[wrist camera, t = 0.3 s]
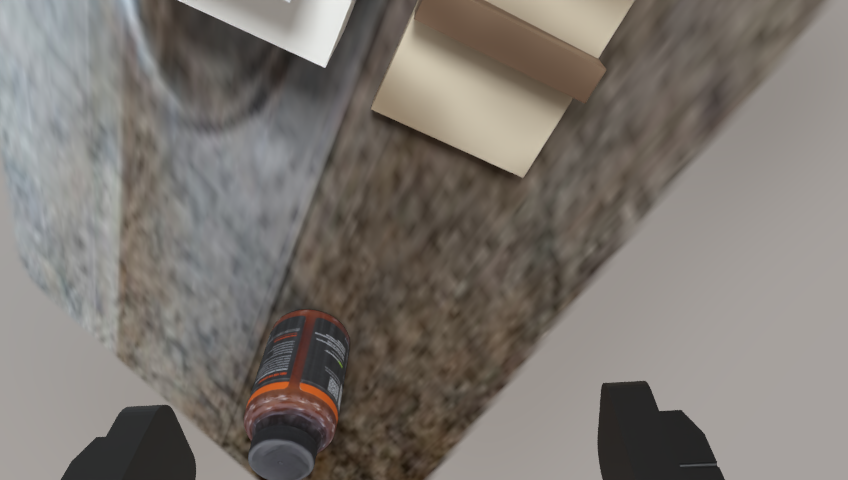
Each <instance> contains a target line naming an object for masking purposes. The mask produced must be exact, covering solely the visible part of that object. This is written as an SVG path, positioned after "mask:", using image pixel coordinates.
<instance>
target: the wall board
mask: <svg viewBox="0 0 848 480" xmlns="http://www.w3.org/2000/svg"><path fill="white" fill-rule="evenodd" d="M634 1H635V0H418V1H417V3H416V5H415V7H414V10H413V12H412V14H411V16H410V19H409V21H408V23H407V25H406V28H405V30H404V32H403V34H402V37H401V39H400V41H399V43H398V45H397V48H396V50H395V52H394V54H393V57H392V59H391V61H390V63H389V66H388V68H387V70H386V72H385V75H384V77H383V79H382V81H381V84H380V86H379V88H378V90H377V93H376V95H375V97H374V99H373V103H372V106H371V110H374V111H376V112H378V113H380V114H383V115H385V116H387V117H389V118H391V119H394V120H396V121H398V122H400V123H402V124H405V125H407V126H409V127H411V128H414V129H416V130H418V131H420V132H422V133H425V134H427V135H429V136H431V137H433V138H436V139H438V140H440V141H442V142H445V143H447V144H449V145H451V146H453V147H456V148H458V149H460V150H462V151H464V152H467V153H469V154H471V155H473V156H476V157H478V158H480V159H482V160H484V161H487V162H489V163H491V164H493V165H495V166H498V167H500V168H502V169H504V170H506V171H509V172H511V173H513V174H515V175H518V176H520V177H522V178H524V176H525V174H526V173H527V171H528V170H529V168H530V166H531V165H532V163H533V162H534V160H535V158H536V157H537V155H538V154H539V152H540V151H541V149H542V147H543V146H544V144H545V143H546V141H547V139H548V138H549V136H550V135H551V133H552V131H553V130H554V128H555V127H556V125H557V123H558V122H559V120H560V119H561V117H562V115H563V114H564V112H565V111H566V109H567V107H568V106H569V104H570V103H571V101H572V99H573V98H575V99H577V100H579V101H581V102H583V103H586V101H587V100H588V98H589V97H590V95H591V93H592V92H593V90H594V89H595V87H596V86H597V84H598V82H599V81H600V79H601V78H602V76H603V75H604V73H605V72H606V68H605V67H604V66H603V64H602V63H601V62H600V61H599V59H598V58H599V56H600V55H601V53H602V52H603V50H604V48H605V47H606V45H607V44H608V42H609V41H610V39H611V37H612V36H613V34H614V33H615V31H616V29H617V28H618V26H619V25H620V23H621V21H622V20H623V18H624V17H625V15H626V13H627V12H628V10H629V9H630V7H631V5H632V4H633V2H634Z"/></svg>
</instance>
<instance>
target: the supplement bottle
mask: <svg viewBox="0 0 848 480" xmlns="http://www.w3.org/2000/svg"><path fill="white" fill-rule="evenodd" d="M349 345H350V341H349V336H348V333H347V331H346V329H345V327H344V326H343V325H342V324H341V323H340V322H339V321H338V320H337V319H336V318H334V317H333V316H331V315H329V314H327V313H324V312H321V311H316V310H308V309H305V310H297V311H293V312H291V313H288V314H286V315H284V316H283V317H281V318H280V319H279V320H278V321H277V322H276V324H275V325H274V327H273V329H272V332H271V333H270V336H269V339H268V342H267V345H266V349H265V352H264V355H263V358H262V361H261V364H260V367H259V370H258V373H257V376H256V379H255V382H254V385H253V389H252V392H251V395H250V398H249V401H248V404H247V407H246V411H245V415H244V427H245V431H246V433H247V435H248V437H249V438H250V440H251V447H250V450H249V455H248V461H249V464H250V466H251V468H252V469H253V470H254V471H255V472H256V473H257V474H258V475H260V476H261V477H263V478H265V479H268V480H301V479H303V478H305V477H306V476H308V475H309V474H310V473H311V471H312V470H313V468H314V464H315V458H316V455H317V453H319V452H321V451H322V450H323V449H325V448H326V447H327V446H328V445H329V443H330V442H331V441H332V439H333V437H334V434H335V431H336V427H337V421H338V416H339V409H340V403H341V397H342V392H343V385H344V379H345V373H346V367H347V361H348V355H349Z"/></svg>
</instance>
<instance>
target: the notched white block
mask: <svg viewBox="0 0 848 480" xmlns="http://www.w3.org/2000/svg"><path fill="white" fill-rule="evenodd" d="M178 1H180V2H183V3H185V4H187V5H189V6H191V7H193V8H196V9H198V10H200V11H202V12H204V13H207V14H209V15H211V16H213V17H215V18H217V19H220V20H222V21H224V22H226V23H228V24H230V25H233V26H235V27H237V28H239V29H241V30H244V31H246V32H248V33H250V34H252V35H254V36H257V37H259V38H261V39H263V40H265V41H268V42H270V43H272V44H274V45H276V46H278V47H281V48H283V49H285V50H287V51H289V52H291V53H294V54H296V55H298V56H300V57H302V58H305V59H307V60H309V61H311V62H313V63H315V64H318V65H320V66H322V67H324V68H326V66H327V64H328V62H329V60H330V58H331V56H332V54H333V52H334V50H335V48H336V46H337V44H338V42H339V40H340V38H341V36H342V34H343V32H344V30H345V28H346V25H347V23H348V20H349V18H350V15H351V13H352V10H353V8H354V5H355V3H356V0H178Z"/></svg>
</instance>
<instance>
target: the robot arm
mask: <svg viewBox="0 0 848 480" xmlns="http://www.w3.org/2000/svg"><path fill="white" fill-rule="evenodd" d="M598 456H599V464H600V469H601V474H602V478H603V480H725V479H724V477H723V475H722V472H721V470H720V468H719V467H717V461H716V459H715V457H714V454H713V452H712V450H711V448H710V446H709V443H708V441H707V439H706V437H705V434H704V433H703V432H702V431H701V430H700V429H699V428H698V427H697V426H696V425H695V424H694V423H693V422H692V421H691V420H690V419H689V418H688V417H687V416H686V415H685V414H684V413H683V412H682V410H675V411H659V410H658V407H657V405H656V402H655V399H654V396H653V394H652V391H651V389H650V387H649V385H648V383H647V382H646V381H636V382H617V383H603V385H602V389H601V399H600V413H599V427H598ZM195 477H196V463H195V459H194V455H193V453H192V451H191V448H190V446H189V444H188V442H187V440H186V438H185V435H184V433H183V431H182V429H181V426H180V424H179V422H178V420H177V418H176V415H175V413H174V411H173V410H172V408H171V407H170V406H168V405H153V406H136V407H135V406H134V407H126V408H125V409H123V410H122V411H121V412H120V413H119V415H118V417H117V418H116V420H115V422H114V423H113V425H112V427H111V429H110V431H109V432H108V434H107V436H106V437H96V438H95V439H94V440H93V441H92V442H91V443H90V444H89V445H88V446H87V447H86V448H85V449H84V450H83V451H82V452H81V453H80V454H79V455H78V456H77V457H76V458H75V459H74V460H73V461H72V462H71V463H70V465H69V467H68V468H67V470H66V472H65V473H64V475H63V477H62V478H61V480H195Z"/></svg>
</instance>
